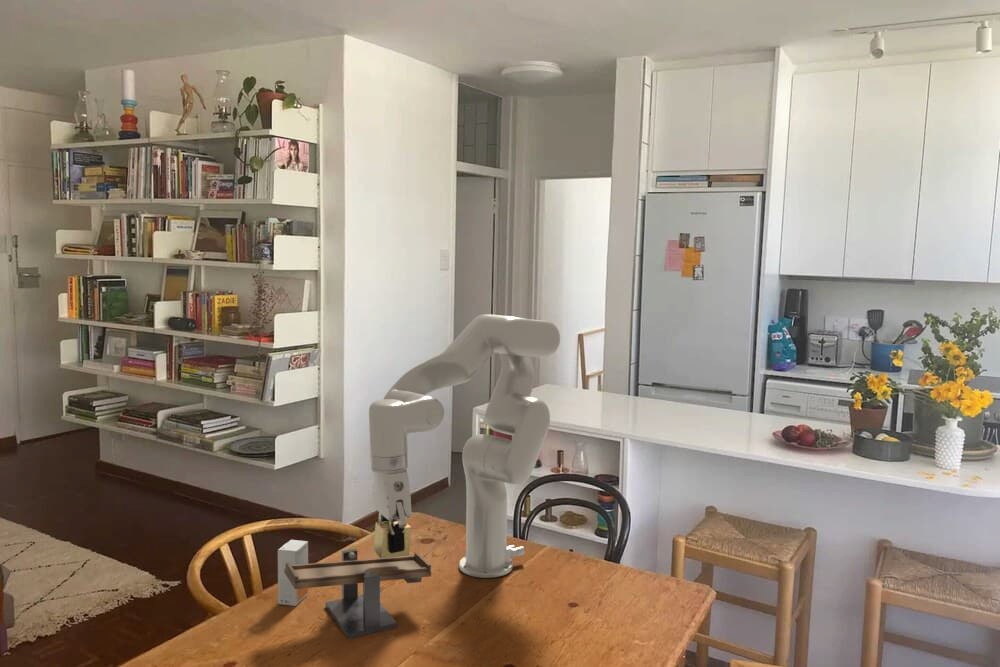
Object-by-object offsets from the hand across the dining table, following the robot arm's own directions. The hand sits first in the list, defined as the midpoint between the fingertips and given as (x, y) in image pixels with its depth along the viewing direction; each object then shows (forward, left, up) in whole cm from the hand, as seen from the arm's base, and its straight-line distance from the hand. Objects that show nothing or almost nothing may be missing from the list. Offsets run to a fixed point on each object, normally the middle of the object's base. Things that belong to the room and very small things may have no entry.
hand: (392, 545), depth 160 cm
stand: (+7, 0, -14) cm, 15 cm away
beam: (+7, 0, -6) cm, 10 cm away
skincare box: (+17, -14, -14) cm, 26 cm away
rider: (0, 0, -1) cm, 1 cm away
